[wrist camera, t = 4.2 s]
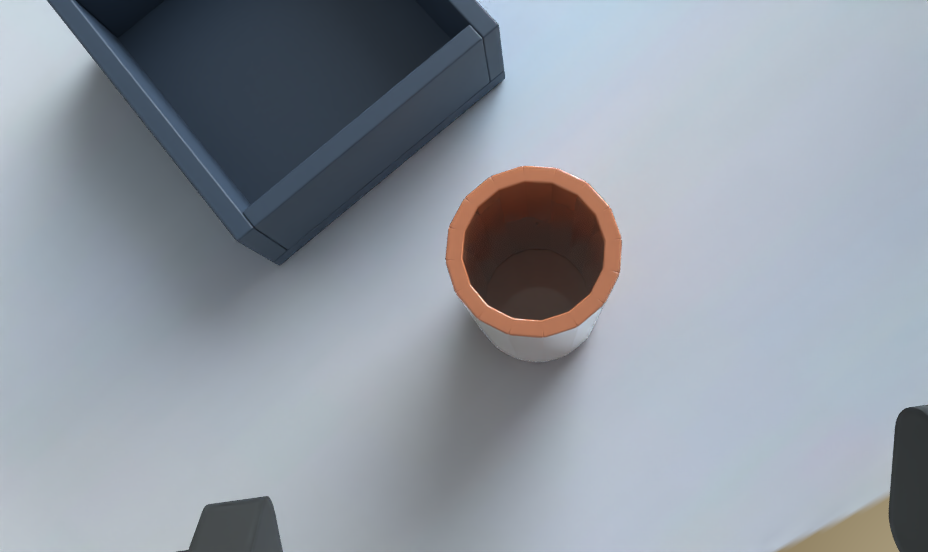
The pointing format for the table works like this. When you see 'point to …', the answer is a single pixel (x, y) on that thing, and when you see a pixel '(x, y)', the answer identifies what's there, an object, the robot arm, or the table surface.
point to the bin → (290, 95)
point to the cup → (534, 260)
